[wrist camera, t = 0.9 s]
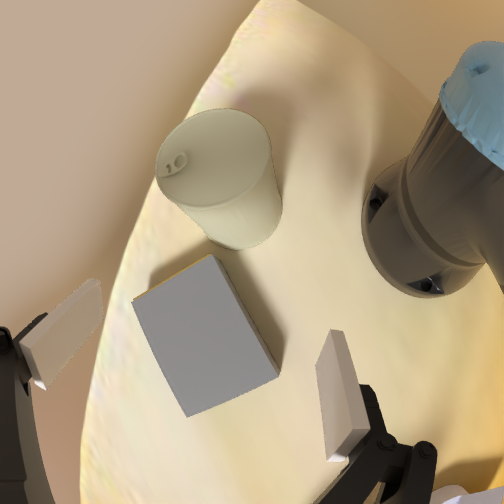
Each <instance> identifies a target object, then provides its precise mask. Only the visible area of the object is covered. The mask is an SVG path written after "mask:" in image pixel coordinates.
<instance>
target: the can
mask: <svg viewBox="0 0 504 504" xmlns="http://www.w3.org/2000/svg"><path fill="white" fill-rule="evenodd" d="M155 175H156V180H157V183H158V186H159V188H160V189H161V191H162V193H163V194H164V195H165V196H166V197H167V198H168V199H169V200H170V201H172V202H173V203H175V204H176V205H177V206H178V207H179V208H180V209H181V210H182V211H184V212H185V213H186V214H187V215H188V216H189V217H190V218H191V219H192V220H193V221H194V222H195V223H196V224H197V225H198V226H199V227H200V228H201V229H202V230H203V231H204V233H205V234H206V235H207V237H208V238H209V239H210V240H211V241H213V242H214V243H215V244H217V245H219V246H221V247H224V248H227V249H233V250H242V249H248V248H251V247H254V246H256V245H258V244H260V243H262V242H263V241H265V240H266V239H267V238H268V237H269V236H270V235H271V234H272V233H273V232H274V230H275V229H276V227H277V226H278V224H279V221H280V218H281V214H282V201H281V197H280V194H279V192H278V188H277V183H276V178H275V173H274V167H273V161H272V155H271V143H270V139H269V136H268V133H267V131H266V130H265V128H264V127H263V125H262V124H261V123H260V122H259V121H258V120H257V119H256V118H254V117H253V116H251V115H249V114H247V113H245V112H242V111H239V110H235V109H226V108H224V109H212V110H207V111H204V112H201V113H198V114H196V115H193V116H191V117H189V118H188V119H186V120H184V121H183V122H182V123H180V124H179V125H178V126H177V127H175V128H174V129H173V130H172V131H171V132H170V133H169V135H168V136H167V138H166V139H165V140H164V142H163V143H162V145H161V147H160V149H159V151H158V154H157V158H156V163H155Z"/></svg>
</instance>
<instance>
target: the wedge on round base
mask: <svg viewBox="0 0 504 504" xmlns="http://www.w3.org/2000/svg"><path fill="white" fill-rule="evenodd" d="M503 495H504V486H502V487H498V488H494V489H490V490H486V491H482V492H477V493H472V494H469V493H468V492H467V491H466V490H465V489H464V488H463V487H461V486H460V485H447V486H444V487H441V488H439V489H437V490H435V491H433V492H432V494H431V499H430V504H502V503H503Z"/></svg>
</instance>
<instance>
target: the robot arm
mask: <svg viewBox="0 0 504 504" xmlns="http://www.w3.org/2000/svg"><path fill="white" fill-rule="evenodd" d="M361 225H362V235H363V240H364V244H365V247H366V250H367V252H368V255H369V257H370V259H371V261H372V263H373V264H374V266H375V267H376V269H377V270H378V272H379V273H380V274H381V275H382V276H383V277H384V278H385V279H386V280H387V281H388V282H389V283H390V284H391V285H392V286H394V287H395V288H397V289H398V290H400V291H402V292H404V293H406V294H408V295H411V296H414V297H419V298H436V297H441V296H445V295H449V294H452V293H454V292H456V291H458V290H459V289H461V288H462V287H464V286H465V285H466V284H468V283H469V282H470V281H471V279H472V278H473V277H474V276H475V275H476V273H477V272H478V271H479V270H480V269H481V267H482V266H483V265H484V264H485V263H486V262H487V263H488V265H489V267H490V269H491V271H492V272H493V274H494V276H495V278H496V280H497V282H498V284H499V286H500V288H501V290H502V292H503V294H504V43H502V42H496V41H483V42H479V43H476V44H474V45H472V46H470V47H469V48H468V49H467V50H466V51H465V52H464V53H463V55H462V56H461V58H460V60H459V62H458V64H457V66H456V68H455V70H454V71H453V73H452V75H451V77H449V78H448V79H447V80H446V81H445V83H444V84H443V85H442V87H441V91H440V94H439V99H438V101H437V103H436V105H435V107H434V109H433V111H432V113H431V115H430V117H429V119H428V121H427V123H426V125H425V127H424V129H423V131H422V133H421V135H420V136H419V138H418V140H417V142H416V144H415V146H414V148H413V149H412V151H411V153H410V155H409V156H408V157H406V158H404V159H402V160H400V161H399V162H397V163H395V164H393V165H391V166H390V167H388V168H387V169H386V170H384V171H383V172H382V173H381V174H380V175H379V177H378V178H377V179H376V180H375V182H374V183H373V185H372V187H371V189H370V191H369V193H368V195H367V197H366V200H365V202H364V206H363V210H362V220H361ZM103 320H104V316H103V308H102V297H101V284H100V281H99V280H96V279H92V278H89V279H88V280H87V281H86V282H84V283H83V284H82V285H81V286H80V287H78V288H77V289H76V290H75V291H74V292H73V293H71V294H70V295H69V296H68V297H67V298H66V299H65V300H64V301H62V302H61V303H60V304H59V305H58V306H57V307H56V308H55V309H54V310H53V311H51V312H50V313H49V314H48V313H44V314H42V315H39V316H37V317H36V318H35V319H34V320H33V321H32V323H30V324H29V325H28V326H27V327H25V328H24V329H23V330H22V331H21V332H20V333H19V334H18V335H17V336H16V337H15V338H14V339H13V340H12V337H11V334H10V331H9V330H8V329H7V328H6V327H0V504H55V501H54V499H53V496H52V493H51V490H50V486H49V483H48V480H47V476H46V473H45V469H44V465H43V461H42V457H41V452H40V448H39V443H38V438H37V433H36V427H35V421H34V414H33V406H32V397H31V388H30V382H29V379H30V378H31V377H33V379H34V382H35V384H36V385H38V386H39V387H41V388H43V389H45V390H47V389H48V388H49V387H50V385H51V384H52V382H53V381H54V380H55V379H56V377H57V376H58V375H59V374H60V372H61V371H62V370H63V369H64V367H65V366H66V365H67V363H68V362H69V361H70V360H71V358H72V357H73V356H74V355H75V353H76V352H77V351H78V350H79V348H80V347H81V346H82V345H83V344H84V342H85V341H86V340H87V339H88V338H89V336H90V335H91V334H92V333H93V332H94V330H95V329H96V328H97V327H98V326H99V325H100V323H101V322H102V321H103ZM315 367H316V374H317V382H318V389H319V397H320V405H321V413H322V421H323V430H324V439H325V449H326V459H327V462H343V461H344V460H345V459H346V457H347V456H348V457H349V464H348V465H347V466H346V467H345V468H344V469H343V470H342V471H341V473H340V474H339V475H338V476H337V478H336V479H335V480H334V481H333V482H332V483H331V485H330V486H329V487H328V488H327V489H326V490H325V491H324V492H323V493H322V494H321V495H320V496H319V498H318V499H317V500H316V501H315V502H314V503H313V504H363V503H364V501H365V500H366V498H367V497H368V496H369V494H370V493H371V491H372V490H373V488H374V487H375V486H376V484H377V483H378V482H382V484H381V487H380V490H379V493H378V496H377V499H376V501H375V504H430V499H431V494H432V489H433V483H434V477H435V470H436V463H437V450H436V448H435V446H434V445H433V444H432V443H429V442H427V441H420V442H418V443H417V444H416V445H415V446H414V447H413V446H408V445H403V444H400V443H398V442H397V440H396V439H395V437H393V436H392V435H391V434H389V433H387V431H386V427H385V424H384V420H383V417H382V414H381V410H380V409H379V404H378V402H377V401H378V400H377V397H376V394H375V392H374V391H373V389H372V388H371V387H370V386H369V385H362V384H359V383H358V379H357V376H356V372H355V369H354V365H353V362H352V359H351V355H350V352H349V349H348V345H347V342H346V339H345V336H344V332H343V331H339V330H331V329H330V331H329V334H328V336H327V339H326V341H325V344H324V346H323V349H322V351H321V353H320V356H319V358H318V361H317V363H316V365H315Z"/></svg>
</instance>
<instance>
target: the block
mask: <svg viewBox="0 0 504 504" xmlns="http://www.w3.org/2000/svg"><path fill="white" fill-rule="evenodd" d="M133 300H134V301H133V302H131V303H132V306H133V308H134V311H135V313H136V315H137V318H138V320H139V323H140V325H141V327H142V330H143V332H144V334H145V336H146V339H147V341H148V343H149V345H150V347H151V350H152V352H153V354H154V356H155V358H156V360H157V362H158V364H159V366H160V368H161V370H162V372H163V374H164V376H165V378H166V380H167V382H168V384H169V386H170V388H171V390H172V392H173V394H174V395H175V397H176V399H177V401H178V403H179V405H180V406H181V408H182V410H183V412H184V413H185V415H186V417H190V416H192V415H195V414H198V413H200V412H203V411H205V410H207V409H210V408H212V407H215V406H217V405H219V404H222V403H224V402H226V401H229V400H231V399H233V398H235V397H238V396H240V395H242V394H244V393H246V392H249V391H251V390H253V389H255V388H257V387H259V386H261V385H263V384H265V383H267V382H269V381H271V380H273V379H275V378H277V377H279V374H280V372H281V371H280V369H279V367H278V366H277V364H276V362H275V360H274V359H273V357H272V355H271V353H270V352H269V350H268V348H267V346H266V344H265V343H264V341H263V339H262V337H261V335H260V334H259V332H258V330H257V328H256V326H255V325H254V323H253V321H252V319H251V317H250V315H249V314H248V312H247V310H246V308H245V306H244V304H243V303H242V301H241V299H240V297H239V295H238V293H237V291H236V289H235V288H234V286H233V284H232V282H231V280H230V278H229V276H228V274H227V273H226V271H225V269H224V267H223V265H222V263H221V261H220V260H219V259H218V258H216V257H215V256H214V255H212V254H210V253H209V254H208V255H206V256H204V257H203V258H201V259H199V260H198V261H196V262H194V263H192V264H191V265H189V266H187V267H186V268H184V269H182V270H181V271H179V272H177V273H176V274H174V275H172V276H171V277H169V278H167V279H166V280H164V281H162V282H161V283H159V284H157V285H156V286H154V287H152V288H151V289H149V290H147V291H146V292H144V293H142V294H141V295H139V296H137V297H136V298H134V299H133Z"/></svg>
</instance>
